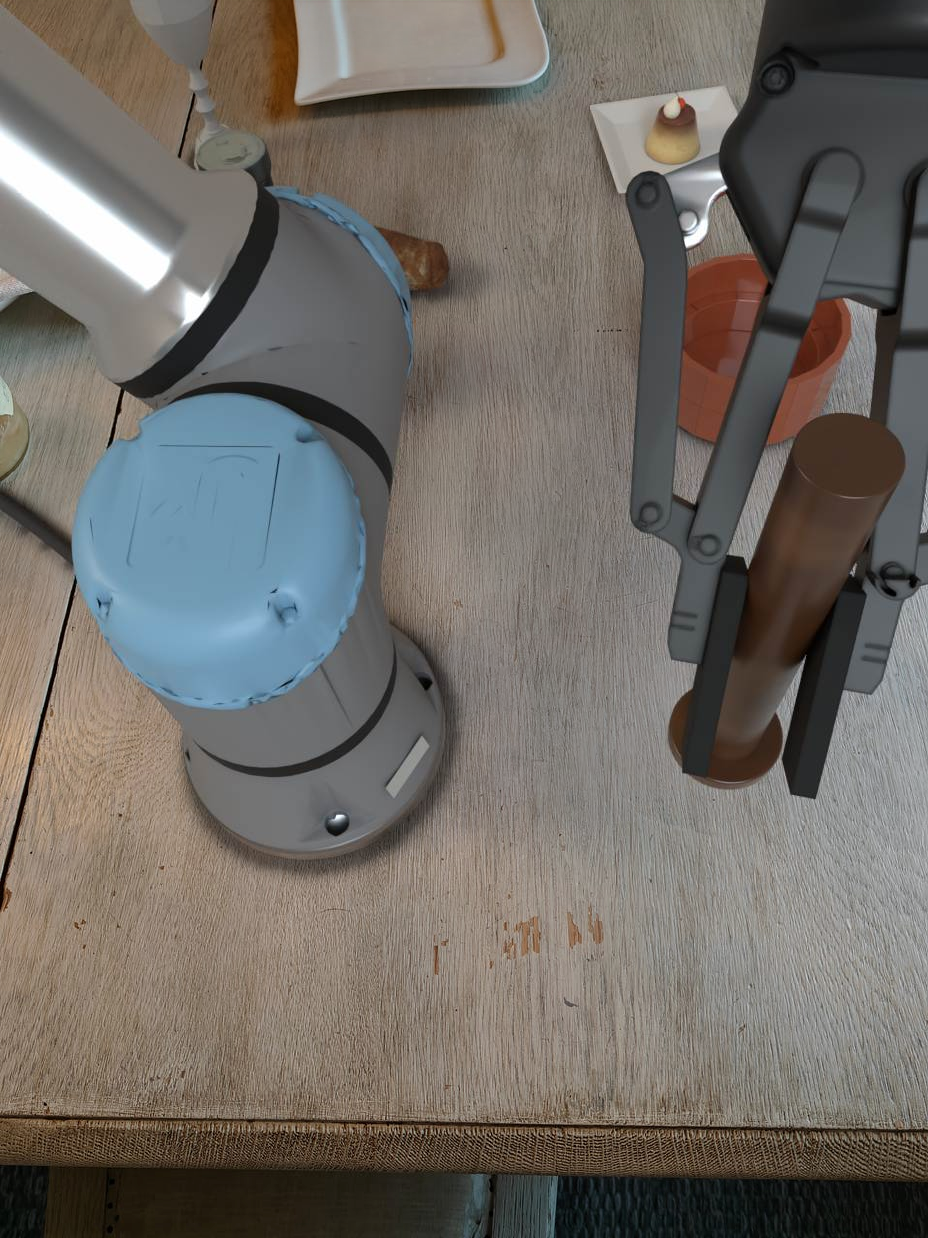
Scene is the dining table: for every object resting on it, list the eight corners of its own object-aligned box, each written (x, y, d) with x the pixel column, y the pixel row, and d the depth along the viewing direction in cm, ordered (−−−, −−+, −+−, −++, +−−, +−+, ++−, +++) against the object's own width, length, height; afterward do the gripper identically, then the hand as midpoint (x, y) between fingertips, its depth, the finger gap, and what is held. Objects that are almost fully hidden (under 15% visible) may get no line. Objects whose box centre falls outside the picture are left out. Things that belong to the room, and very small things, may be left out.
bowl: (623, 419, 67) (631, 352, 62) (686, 306, 72) (699, 234, 67) (792, 477, 64) (817, 412, 58) (847, 354, 69) (874, 283, 63)
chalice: (201, 194, 83) (123, -31, 67) (169, 155, 86) (87, -69, 70) (275, 160, 84) (216, -67, 68) (241, 123, 87) (177, -103, 71)
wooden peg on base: (650, 760, 38) (726, 488, 22) (692, 671, 40) (790, 362, 24) (755, 809, 37) (916, 558, 21) (794, 715, 39) (968, 419, 23)
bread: (240, 234, 80) (221, 174, 75) (458, 267, 76) (453, 206, 71) (210, 286, 77) (188, 227, 72) (435, 322, 73) (428, 263, 68)
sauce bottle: (333, 439, 68) (264, 197, 51) (250, 429, 69) (155, 189, 52) (356, 371, 71) (298, 121, 54) (277, 363, 72) (195, 114, 55)
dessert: (722, 96, 84) (732, 42, 80) (761, 183, 78) (774, 129, 74) (588, 116, 84) (591, 62, 80) (617, 205, 78) (622, 151, 74)
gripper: (1206, -14, 26) (971, 768, 33) (630, -45, 29) (524, 684, 35) (1403, -151, 19) (1050, 883, 26) (613, -174, 22) (485, 767, 28)
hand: (745, 766), depth 31 cm, fingers closed on wooden peg on base, 3 cm apart
